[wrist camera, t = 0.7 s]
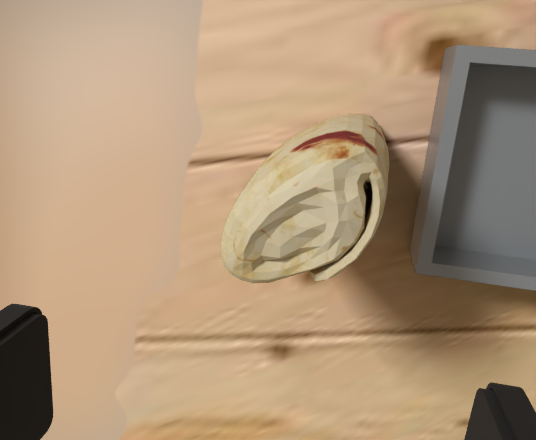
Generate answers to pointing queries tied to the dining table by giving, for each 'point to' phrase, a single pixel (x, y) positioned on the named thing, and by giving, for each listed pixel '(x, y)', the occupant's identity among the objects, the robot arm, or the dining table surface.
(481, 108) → the bin
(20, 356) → the robot arm
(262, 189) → the food model
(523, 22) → the dining table surface
